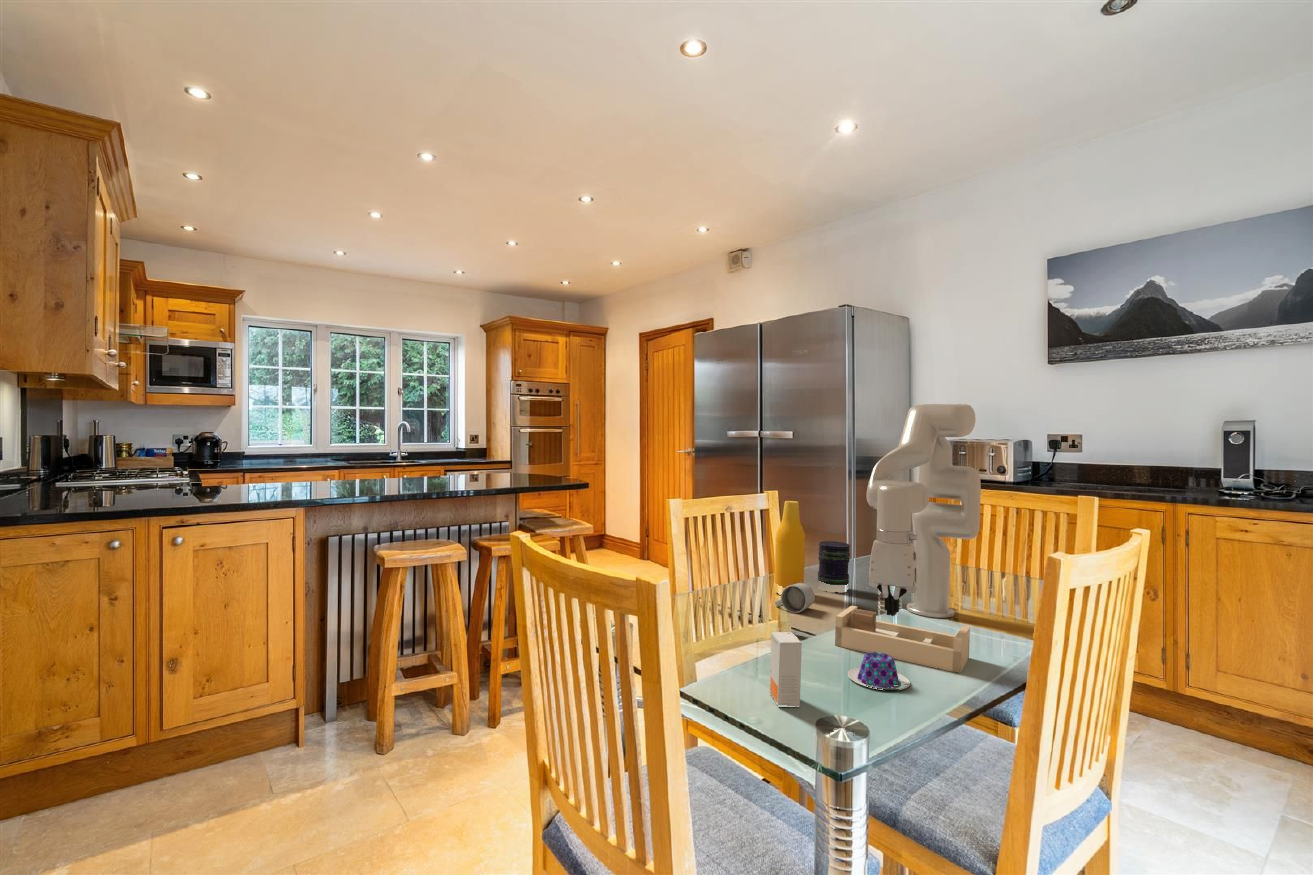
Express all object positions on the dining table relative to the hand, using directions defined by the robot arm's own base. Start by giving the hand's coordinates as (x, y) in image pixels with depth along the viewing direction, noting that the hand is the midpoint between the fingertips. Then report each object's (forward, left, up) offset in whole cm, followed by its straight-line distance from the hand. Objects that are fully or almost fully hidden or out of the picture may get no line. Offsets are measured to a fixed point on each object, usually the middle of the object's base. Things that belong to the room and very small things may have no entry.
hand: (891, 613), depth 146 cm
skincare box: (+44, -8, -8) cm, 45 cm away
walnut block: (+1, -6, -5) cm, 8 cm away
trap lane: (+1, +2, -8) cm, 8 cm away
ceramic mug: (-16, -31, -8) cm, 36 cm away
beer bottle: (-32, -39, -8) cm, 51 cm away
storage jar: (-47, -30, -8) cm, 56 cm away
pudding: (+22, +3, -9) cm, 24 cm away
